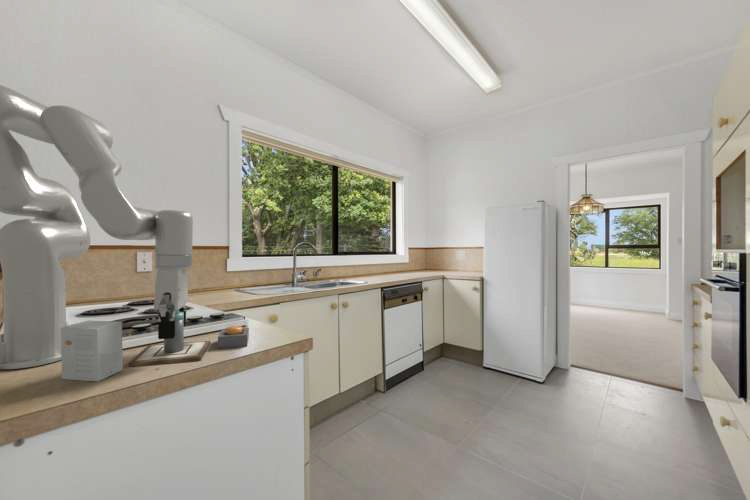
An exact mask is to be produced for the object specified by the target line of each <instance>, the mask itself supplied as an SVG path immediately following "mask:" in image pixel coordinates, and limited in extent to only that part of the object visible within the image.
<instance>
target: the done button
mask: <svg viewBox="0 0 750 500" xmlns="http://www.w3.org/2000/svg"><path fill="white" fill-rule="evenodd" d="M242 328H243V326H241V325H231V326H227V327H226V328H225V329H226V335H236V334H242Z"/></svg>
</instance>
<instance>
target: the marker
mask: <svg viewBox="0 0 750 500" xmlns="http://www.w3.org/2000/svg"><path fill="white" fill-rule="evenodd" d="M169 313H170V315H171V312H169ZM174 320H175V337H174V338H171V339H163V344H164V352H165V353H176V352H180V351H182V350H183V347H184V343H185V342H184V341H185V340H184V333H185V331H184V329H185V328H184V327H185V326H184V312H179V310H177V311H175V316H174ZM174 320H173V321H174Z"/></svg>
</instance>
